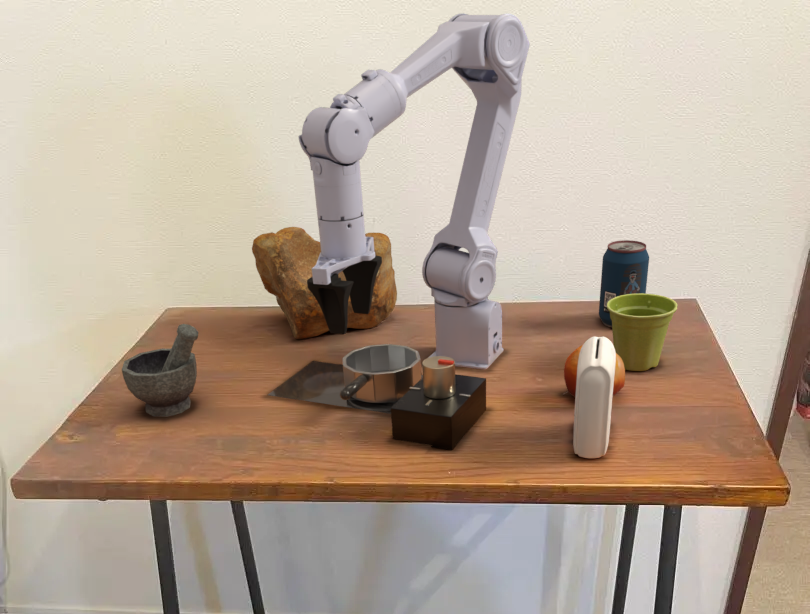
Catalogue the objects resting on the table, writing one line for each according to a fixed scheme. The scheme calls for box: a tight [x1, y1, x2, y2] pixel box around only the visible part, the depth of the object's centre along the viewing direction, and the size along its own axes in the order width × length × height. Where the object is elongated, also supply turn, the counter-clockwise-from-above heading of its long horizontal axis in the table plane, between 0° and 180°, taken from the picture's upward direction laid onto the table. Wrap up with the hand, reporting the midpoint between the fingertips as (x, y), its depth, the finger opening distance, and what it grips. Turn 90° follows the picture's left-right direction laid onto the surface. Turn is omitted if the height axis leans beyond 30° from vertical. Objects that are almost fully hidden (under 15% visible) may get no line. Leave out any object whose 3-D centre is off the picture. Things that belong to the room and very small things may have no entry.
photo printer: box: [572, 335, 616, 459], centre depth 103 cm, size 10×4×12 cm, turn 167°
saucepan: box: [340, 343, 422, 404], centre depth 117 cm, size 16×10×5 cm, turn 155°
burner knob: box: [421, 356, 456, 399], centre depth 108 cm, size 4×4×4 cm
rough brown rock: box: [251, 226, 398, 340], centre depth 140 cm, size 23×17×15 cm
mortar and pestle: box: [121, 323, 199, 418], centre depth 117 cm, size 11×9×12 cm
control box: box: [390, 373, 487, 451], centre depth 110 cm, size 12×8×5 cm
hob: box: [267, 360, 423, 415], centre depth 123 cm, size 21×13×1 cm, turn 65°
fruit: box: [562, 344, 626, 398], centre depth 115 cm, size 8×8×8 cm
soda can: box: [598, 239, 650, 328], centre depth 136 cm, size 7×7×12 cm
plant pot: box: [607, 293, 678, 372], centre depth 122 cm, size 9×9×9 cm
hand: (350, 322), depth 115 cm, fingers open, 7 cm apart
